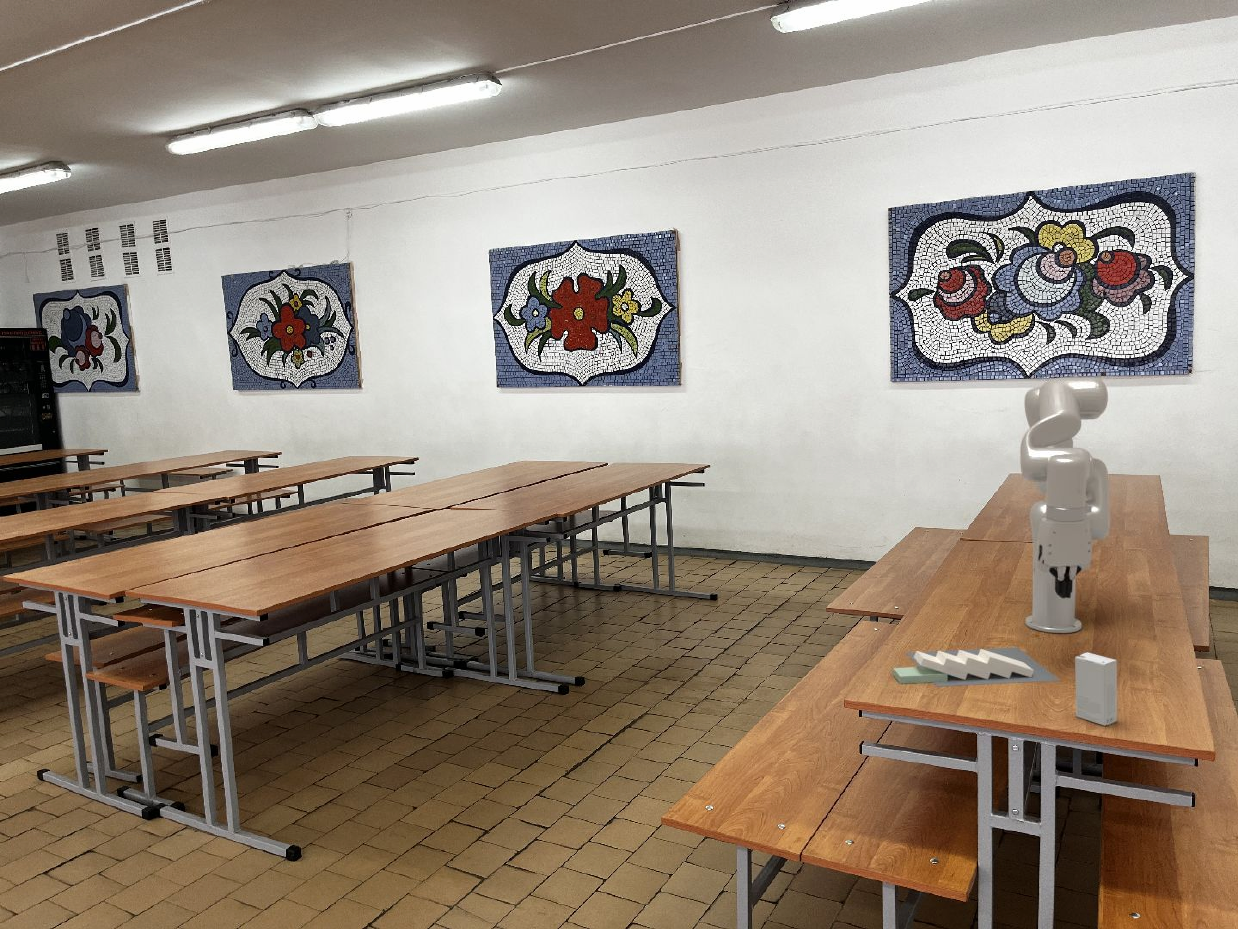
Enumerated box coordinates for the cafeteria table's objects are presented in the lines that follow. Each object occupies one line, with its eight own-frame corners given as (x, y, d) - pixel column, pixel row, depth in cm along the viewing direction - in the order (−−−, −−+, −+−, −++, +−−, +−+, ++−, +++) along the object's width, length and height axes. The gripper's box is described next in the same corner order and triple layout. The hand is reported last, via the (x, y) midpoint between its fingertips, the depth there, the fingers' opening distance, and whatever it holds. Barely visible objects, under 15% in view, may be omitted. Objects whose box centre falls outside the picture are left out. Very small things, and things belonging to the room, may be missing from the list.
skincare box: (1118, 721, 176) (1119, 659, 174) (1104, 727, 173) (1106, 664, 172) (1086, 711, 181) (1088, 650, 179) (1073, 717, 179) (1074, 656, 177)
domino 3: (1002, 663, 203) (959, 649, 202) (1012, 671, 198) (968, 657, 197) (999, 670, 203) (956, 656, 202) (1009, 678, 198) (965, 664, 197)
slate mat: (1017, 649, 216) (1017, 647, 216) (1060, 682, 195) (1060, 680, 195) (905, 654, 216) (905, 652, 216) (936, 688, 195) (936, 686, 195)
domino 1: (959, 665, 203) (916, 650, 202) (967, 673, 198) (923, 658, 197) (957, 671, 203) (913, 657, 203) (965, 679, 198) (920, 665, 198)
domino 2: (981, 664, 202) (938, 650, 202) (990, 672, 198) (946, 658, 197) (978, 671, 203) (935, 657, 202) (987, 679, 198) (943, 665, 197)
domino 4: (1023, 662, 203) (980, 648, 202) (1033, 670, 198) (990, 656, 197) (1020, 669, 203) (977, 655, 202) (1031, 677, 198) (987, 663, 197)
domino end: (939, 666, 202) (893, 668, 202) (947, 674, 198) (900, 676, 197) (939, 673, 203) (893, 675, 203) (947, 681, 198) (900, 683, 198)
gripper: (1092, 506, 200) (1089, 588, 204) (1022, 511, 200) (1021, 592, 204) (1110, 515, 193) (1107, 599, 196) (1037, 519, 193) (1036, 604, 197)
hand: (1063, 596), depth 200 cm, fingers closed
